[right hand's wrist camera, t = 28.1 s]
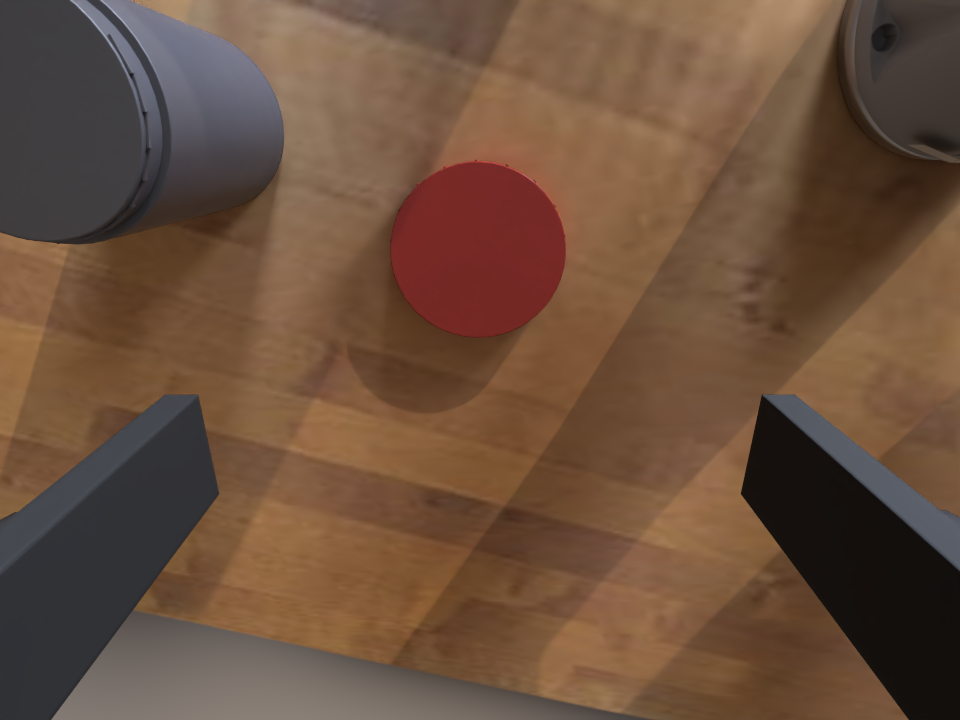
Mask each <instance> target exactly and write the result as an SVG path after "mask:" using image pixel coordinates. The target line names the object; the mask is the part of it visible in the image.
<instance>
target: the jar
mask: <svg viewBox="0 0 960 720" xmlns="http://www.w3.org/2000/svg"><path fill="white" fill-rule="evenodd" d="M283 141H284V131H283V121H282V116H281V111H280V108H279V105H278V102H277V99H276V97H275V94H274V92H273V90H272V88H271V86H270V84H269V83H268V81H267V79H266V77H265V76H264V75H263V73H262V72H261V71H260V69H259V68H258V67H257V66H256V64H255V63H254V62H253V61H252V60H251V59H250V58H249V57H248V56H247V55H246V54H244V53H243V52H242V51H241V50H240V49H238V48H237V47H235V46H234V45H232V44H231V43H230V42H228V41H226V40H224V39H222V38H220V37H218V36H216V35H213V34H211V33H208V32H206V31H203V30H201V29H198V28H196V27H194V26H191V25H189V24H186V23H184V22H181V21H179V20H176V19H174V18H171V17H169V16H167V15H164V14H162V13H159V12H157V11H154V10H152V9H149V8H147V7H145V6H142V5H140V4H137V3H135V2H132V1H130V0H0V232H1V233H4V234H8V235H11V236H14V237H17V238H22V239H26V240H33V241H43V242H52V243H57V244H60V243H62V244H89V243H96V242H100V241H105V240H109V239H113V238H117V237H121V236H125V235H128V234H132V233H136V232H140V231H144V230H148V229H152V228H155V227H159V226H163V225H167V224H171V223H175V222H179V221H183V220H186V219H190V218H194V217H198V216H202V215H206V214H210V213H213V212H217V211H221V210H225V209H229V208H233V207H236V206H239V205H242V204H244V203H246V202H248V201H250V200H251V199H253V198H255V197H256V196H257V195H258V194H260V193H261V192H262V191H263V190H264V189H265V188H266V186H267V185H268V184H269V183H270V181H271V180H272V178H273V177H274V175H275V173H276V171H277V169H278V166H279V163H280V160H281V156H282V151H283Z"/></svg>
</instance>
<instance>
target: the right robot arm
mask: <svg viewBox="0 0 960 720" xmlns="http://www.w3.org/2000/svg"><path fill="white" fill-rule="evenodd" d="M838 69H839V78H840V83H841V88H842V91H843V95H844V98H845V101H846V103H847V105H848V108H849V110H850V112H851V114H852V115H853V117H854V119H855V121H856V122H857V123H858V125H859V126H860V127H861V129H862V130H863V131H864V132H865V133H866V134H867V135H868V136H869V137H870V138H871V139H872V140H874V141H875V142H876V143H878V144H879V145H881V146H882V147H884V148H886V149H887V150H889V151H892V152H894V153H896V154H899V155H902V156H905V157H909V158H915V159H922V160H944V161H946V162H949V163H960V0H847V2H846V5H845V9H844V13H843V17H842V21H841V27H840V33H839V42H838ZM218 495H219V491H218V486H217V482H216V477H215V472H214V467H213V463H212V458H211V453H210V449H209V444H208V439H207V435H206V430H205V425H204V420H203V416H202V411H201V406H200V402H199V397H198V395H164V396H163V397H162V398H160V399H159V400H158V401H157V402H155V403H154V404H153V405H152V406H150V407H149V408H148V409H147V410H145V411H144V412H143V413H142V414H140V415H139V416H138V417H137V418H135V419H134V420H133V421H132V422H130V423H129V424H128V425H127V426H125V427H124V428H123V429H122V430H120V431H119V432H118V433H117V434H115V435H114V436H113V437H112V438H110V439H109V440H108V441H107V442H105V443H104V444H103V445H102V446H100V447H99V448H98V449H97V450H95V451H94V452H93V453H92V454H90V455H89V456H88V457H86V458H85V459H84V460H83V461H81V462H80V463H79V464H78V465H76V466H75V467H74V468H73V469H71V470H70V471H69V472H68V473H66V474H65V475H64V476H63V477H61V478H60V479H59V480H58V481H56V482H55V483H54V484H53V485H51V486H50V487H49V488H48V489H46V490H45V491H44V492H43V493H41V494H40V495H39V496H38V497H36V498H35V499H34V500H33V501H31V502H30V503H29V504H28V505H26V506H25V507H24V508H23V509H21V510H20V511H19V512H14V513H13V514H11V515H9V516H7V517H5V518H3V519H1V520H0V720H51V719H52V718H53V716H54V715H55V714H56V712H57V711H58V710H59V708H60V707H61V706H62V704H63V703H64V702H65V700H66V699H67V698H68V696H69V695H70V694H71V692H72V691H73V689H74V688H75V687H76V686H77V684H78V683H79V682H80V680H81V679H82V677H83V676H84V675H85V673H86V672H87V671H88V669H89V668H90V667H91V665H92V664H93V663H94V661H95V660H96V659H97V657H98V656H99V655H100V653H101V652H102V651H103V649H104V648H105V647H106V645H107V644H108V642H109V641H110V640H111V639H112V637H113V636H114V634H115V633H116V632H117V630H118V629H119V628H120V626H121V625H122V624H123V622H124V621H125V620H126V618H127V617H128V616H129V614H130V613H131V612H132V610H133V609H134V608H135V606H136V605H137V604H138V602H139V601H140V600H141V598H142V597H143V596H144V594H145V593H146V592H147V590H148V589H149V587H150V586H151V585H152V583H153V582H154V581H155V579H156V578H157V577H158V575H159V574H160V573H161V571H162V570H163V569H164V567H165V566H166V565H167V563H168V562H169V561H170V559H171V558H172V557H173V555H174V554H175V553H176V551H177V550H178V549H179V547H180V546H181V544H182V543H183V542H184V540H185V539H186V538H187V536H188V535H189V534H190V532H191V531H192V530H193V528H194V527H195V526H196V524H197V523H198V522H199V520H200V519H201V518H202V516H203V515H204V514H205V512H206V511H207V510H208V508H209V507H210V506H211V504H212V503H213V501H214V500H215V499H216V497H217V496H218ZM741 495H742V496H743V497H744V499H745V500H746V501H747V503H748V504H749V506H750V507H751V508H752V510H753V511H754V512H755V514H756V515H757V516H758V518H759V519H760V520H761V522H762V523H763V524H764V526H765V527H766V528H767V530H768V531H769V532H770V534H771V535H772V536H773V538H774V539H775V540H776V542H777V543H778V544H779V546H780V547H781V549H782V550H783V551H784V553H785V554H786V555H787V557H788V558H789V559H790V561H791V562H792V563H793V565H794V566H795V567H796V569H797V570H798V571H799V573H800V574H801V575H802V577H803V578H804V579H805V581H806V582H807V583H808V585H809V586H810V587H811V589H812V590H813V592H814V593H815V594H816V596H817V597H818V598H819V600H820V601H821V602H822V604H823V605H824V606H825V608H826V609H827V610H828V612H829V613H830V614H831V616H832V617H833V618H834V620H835V621H836V622H837V624H838V625H839V626H840V628H841V629H842V630H843V632H844V633H845V634H846V636H847V637H848V639H849V640H850V641H851V643H852V644H853V645H854V647H855V648H856V649H857V651H858V652H859V653H860V655H861V656H862V657H863V659H864V660H865V661H866V663H867V664H868V665H869V667H870V668H871V669H872V671H873V672H874V673H875V675H876V676H877V677H878V679H879V680H880V682H881V683H882V684H883V686H884V687H885V688H886V690H887V691H888V692H889V694H890V695H891V696H892V698H893V699H894V700H895V702H896V703H897V704H898V706H899V707H900V708H901V710H902V711H903V712H904V714H905V715H906V716H907V718H908V719H909V720H960V518H959V517H958V516H956V515H954V514H952V513H950V512H948V511H946V510H939V509H937V508H936V507H935V506H934V505H932V504H931V503H930V502H929V501H927V500H926V499H925V498H924V497H922V496H921V495H920V494H919V493H917V492H916V491H915V490H914V489H912V488H911V487H910V486H909V485H907V484H906V483H905V482H904V481H902V480H901V479H900V478H899V477H897V476H896V475H895V474H894V473H892V472H891V471H890V470H889V469H887V468H886V467H885V466H884V465H882V464H881V463H880V462H879V461H877V460H876V459H875V458H874V457H872V456H871V455H870V454H868V453H867V452H866V451H865V450H863V449H862V448H861V447H860V446H858V445H857V444H856V443H855V442H853V441H852V440H851V439H850V438H848V437H847V436H846V435H845V434H843V433H842V432H841V431H840V430H838V429H837V428H836V427H835V426H833V425H832V424H831V423H830V422H828V421H827V420H826V419H825V418H823V417H822V416H821V415H820V414H818V413H817V412H816V411H815V410H813V409H812V408H811V407H810V406H808V405H807V404H806V403H805V402H803V401H802V400H801V399H800V398H798V397H797V396H796V395H762V397H761V402H760V406H759V411H758V416H757V420H756V425H755V430H754V435H753V439H752V444H751V449H750V453H749V458H748V463H747V467H746V472H745V477H744V482H743V486H742V491H741Z"/></svg>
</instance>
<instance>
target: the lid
mask: <svg viewBox="0 0 960 720" xmlns="http://www.w3.org/2000/svg"><path fill="white" fill-rule="evenodd" d="M443 168H444V169H442V170H440V171H438V172H436V173H434V174H433V175H431V176H430V177H428V178H427V179H425V180H424V181H423V182H422V183H421V184H420V183H419V184H417V187H416V188H415V189H414V190H413V192H412V193H411V194H410V195H409V196H408V198H407V199H406V201H405V202H404V204H403V205H402V207H401V208H400V209H399V213H398V215H397V218H396V220H395V224H394V227H393V231H392V237H391V262H392V268H393V272H394V276H395V278H396V281H397V284H398V286H399V288H400V290H401V292H402V294H403V296H404V297H405V298H406V300H407V301H408V303H409V304H410V305H411V306H412V308H413V309H414V310H415V311H416V312H417V313H418V314H419V315H420V316H422V317H423V318H424V319H425V320H426V321H428V322H430V323H431V324H433V325H434V326H436V327H438V328H440V329H442V330H444V331H447V332H450V333H453V334H456V335H461V336H465V337H490V336H496V335H500V334H504V333H507V332H510V331H512V330H514V329H517V328H519V327H520V326H522V325H524V324H525V323H527V322H529V321H530V320H531V319H532V318H534V317H535V316H536V315H537V314H538V313H539V312H540V311H541V310H542V309H543V308H544V307H545V306H546V304H547V303H548V302H549V301H550V299H551V298H552V296H553V294H554V292H555V291H556V289H557V287H558V284H559V282H560V280H561V276H562V273H563V269H564V264H565V257H566V244H565V235H564V231H563V227H562V223H561V220H560V218H559V215H558V213H557V211H556V209H555V205H554V204H553V203H552V202H551V200H550V199H549V198H548V196H547V195H546V194H545V192H544V191H543V190H542V189H541V188H540V187H539V186H538V185H537V184H536V182H535V181H534V180H533V181H532V180H531V179H529V178H528V177H527V176H525V175H524V174H522V173H520V172H518V171H517V170H515V169H513V168H510V167H508V165H506V166H505V165H502V164H498V163H493V162H485V161H477V160H475V161H469V162H463V163H458V164H455V165H452V166H449V167H446V166H445V167H443Z"/></svg>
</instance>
